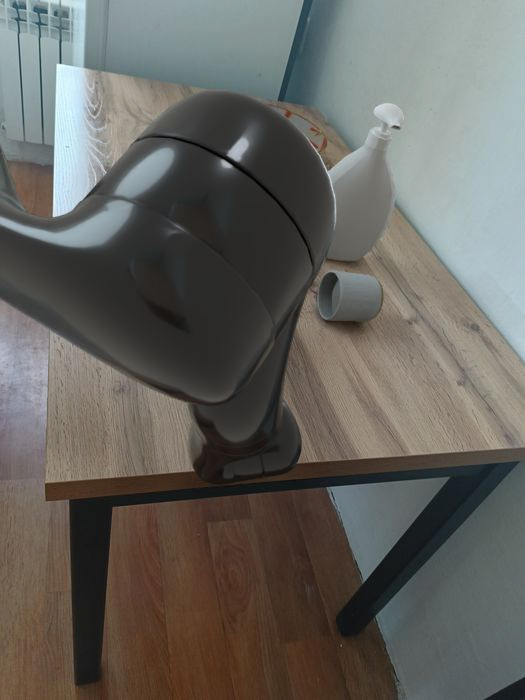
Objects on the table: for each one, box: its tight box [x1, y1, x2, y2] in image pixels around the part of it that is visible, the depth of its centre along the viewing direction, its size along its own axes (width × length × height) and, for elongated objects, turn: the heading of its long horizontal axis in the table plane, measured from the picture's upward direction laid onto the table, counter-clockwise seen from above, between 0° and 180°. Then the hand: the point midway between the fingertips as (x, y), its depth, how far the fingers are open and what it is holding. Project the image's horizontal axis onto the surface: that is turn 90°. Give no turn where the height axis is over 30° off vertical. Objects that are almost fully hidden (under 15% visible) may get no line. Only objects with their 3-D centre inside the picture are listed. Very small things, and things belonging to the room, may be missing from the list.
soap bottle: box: [326, 102, 405, 263], centre depth 88 cm, size 14×8×27 cm, turn 93°
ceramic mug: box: [316, 269, 385, 322], centre depth 84 cm, size 11×8×8 cm
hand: (215, 241), depth 74 cm, fingers closed on container, 4 cm apart
